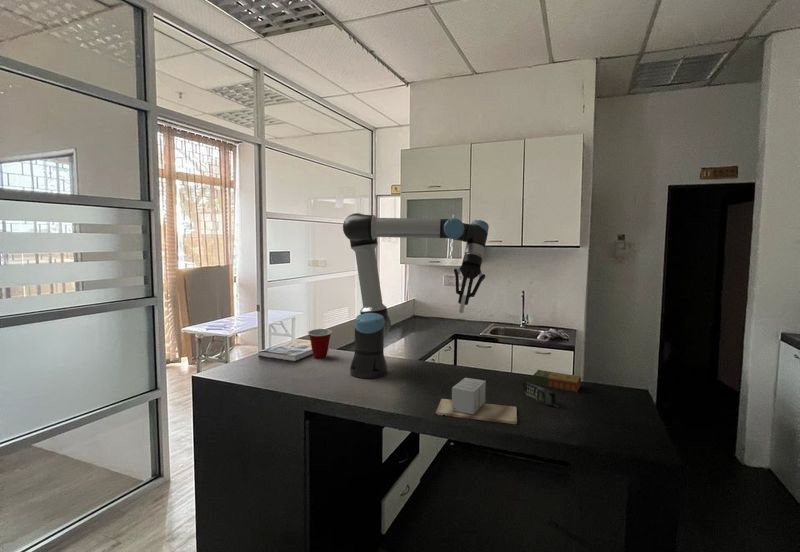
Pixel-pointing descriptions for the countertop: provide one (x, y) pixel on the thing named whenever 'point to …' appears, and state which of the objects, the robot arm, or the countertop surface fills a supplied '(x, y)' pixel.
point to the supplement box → (468, 395)
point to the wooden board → (481, 412)
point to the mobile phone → (539, 393)
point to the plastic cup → (320, 342)
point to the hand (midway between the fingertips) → (461, 311)
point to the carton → (557, 380)
